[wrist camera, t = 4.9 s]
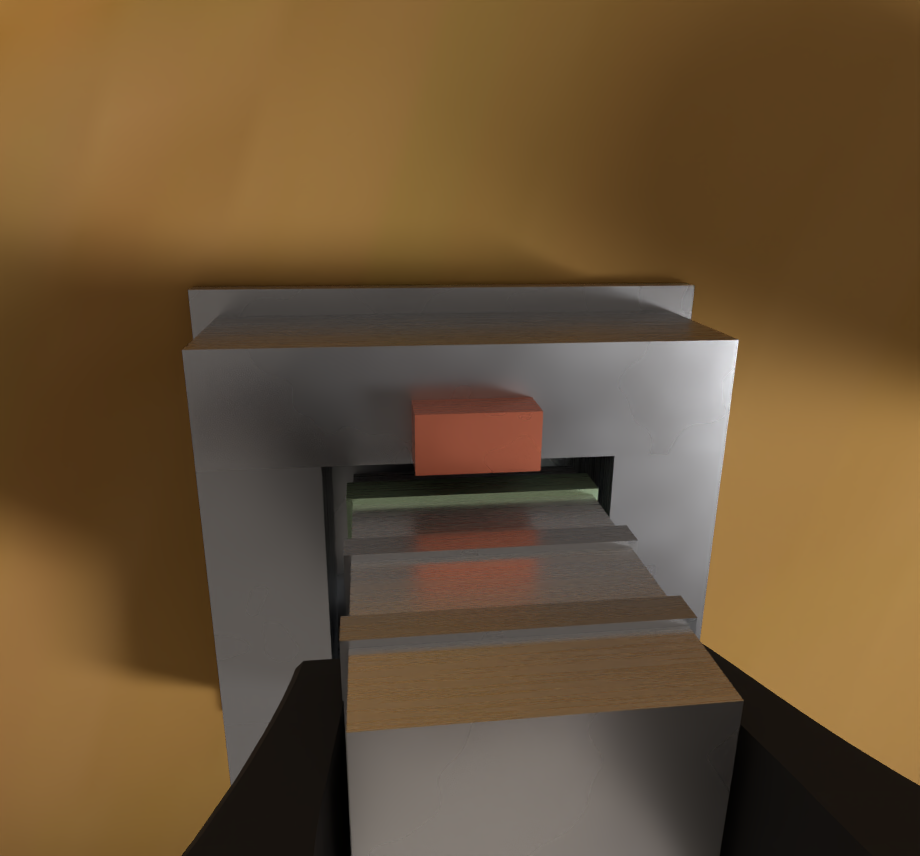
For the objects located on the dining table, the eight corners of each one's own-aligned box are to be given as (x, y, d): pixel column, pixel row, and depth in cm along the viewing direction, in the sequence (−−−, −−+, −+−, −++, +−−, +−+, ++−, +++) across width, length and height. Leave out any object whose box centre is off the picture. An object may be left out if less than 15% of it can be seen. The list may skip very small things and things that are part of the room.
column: (576, 459, 14) (754, 692, 8) (564, 653, 15) (706, 985, 9) (348, 468, 13) (335, 724, 7) (355, 667, 15) (352, 1031, 8)
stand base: (686, 283, 16) (797, 318, 12) (644, 682, 19) (720, 818, 15) (192, 286, 14) (127, 327, 10) (237, 714, 17) (201, 870, 14)
